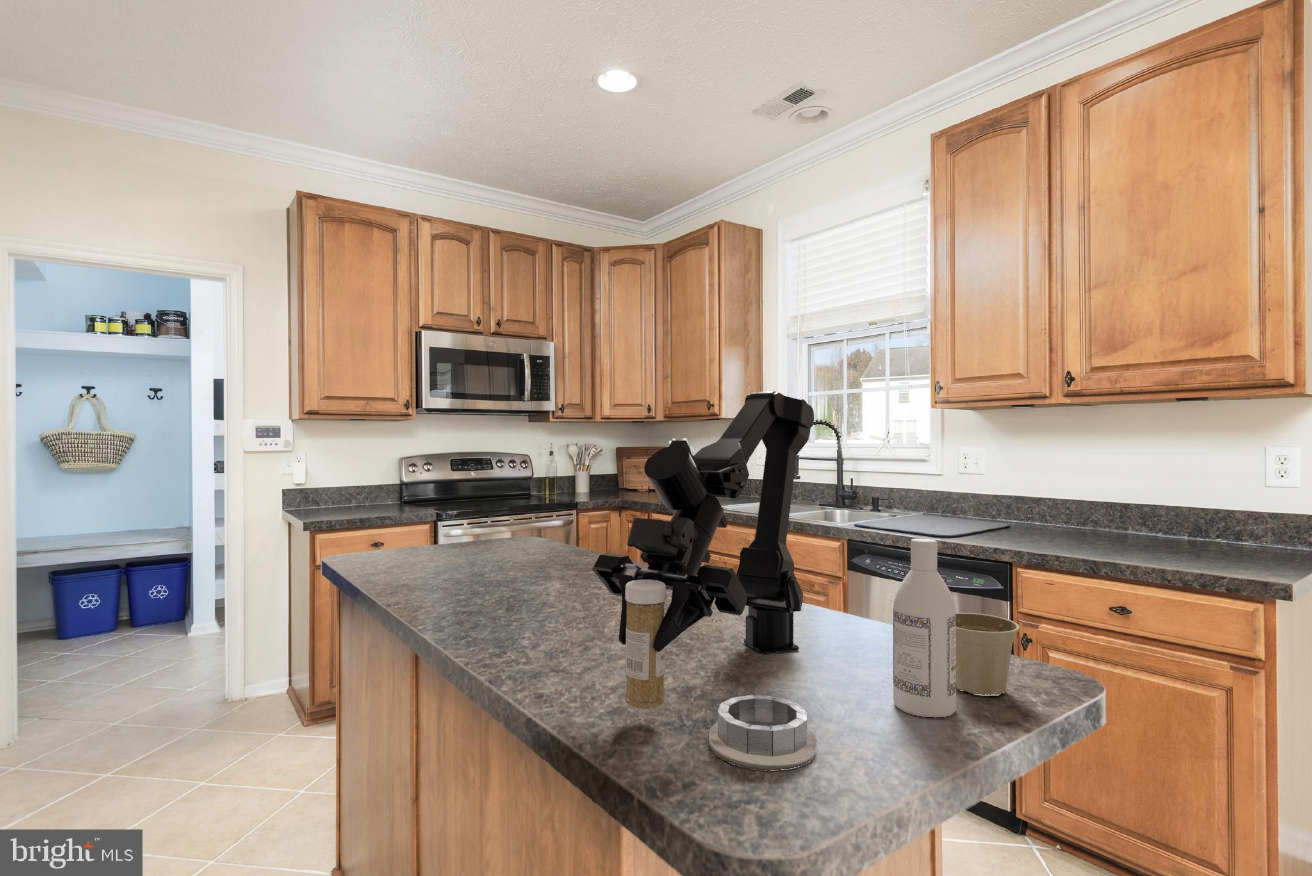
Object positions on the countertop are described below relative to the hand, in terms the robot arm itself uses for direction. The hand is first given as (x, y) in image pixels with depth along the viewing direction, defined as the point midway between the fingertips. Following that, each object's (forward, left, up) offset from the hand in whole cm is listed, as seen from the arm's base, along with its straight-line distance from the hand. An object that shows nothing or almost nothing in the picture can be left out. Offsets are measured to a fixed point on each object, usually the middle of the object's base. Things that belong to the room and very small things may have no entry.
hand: (638, 646), depth 73 cm
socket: (-11, +8, -9) cm, 16 cm away
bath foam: (-34, +5, -9) cm, 36 cm away
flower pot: (-45, +2, -9) cm, 46 cm away
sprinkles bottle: (-1, -1, -7) cm, 7 cm away
